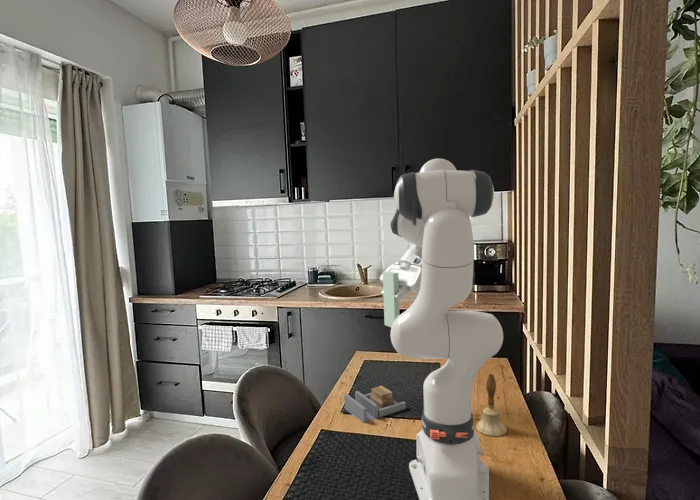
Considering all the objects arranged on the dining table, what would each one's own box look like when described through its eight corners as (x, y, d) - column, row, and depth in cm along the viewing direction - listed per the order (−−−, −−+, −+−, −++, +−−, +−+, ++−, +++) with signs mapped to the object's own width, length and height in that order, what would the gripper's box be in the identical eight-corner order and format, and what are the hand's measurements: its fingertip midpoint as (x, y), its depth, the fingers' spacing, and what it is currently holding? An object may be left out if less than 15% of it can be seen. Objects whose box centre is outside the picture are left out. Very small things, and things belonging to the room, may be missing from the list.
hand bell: (479, 419, 121) (479, 367, 120) (509, 425, 117) (508, 372, 115) (472, 432, 114) (472, 377, 113) (503, 439, 110) (503, 382, 108)
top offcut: (381, 392, 133) (381, 385, 133) (392, 399, 128) (392, 392, 128) (371, 395, 131) (371, 388, 131) (381, 403, 126) (381, 395, 126)
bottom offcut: (382, 399, 134) (382, 392, 134) (394, 407, 128) (394, 399, 128) (369, 403, 132) (369, 395, 132) (381, 411, 126) (381, 404, 126)
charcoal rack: (384, 397, 138) (384, 383, 137) (406, 411, 127) (405, 396, 127) (343, 409, 130) (342, 395, 130) (362, 426, 120) (361, 409, 119)
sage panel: (389, 323, 136) (387, 271, 135) (400, 327, 131) (398, 272, 129) (384, 324, 135) (382, 271, 134) (394, 328, 130) (393, 273, 128)
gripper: (389, 256, 144) (367, 286, 140) (426, 261, 126) (402, 296, 122) (399, 267, 146) (378, 297, 142) (438, 273, 128) (414, 308, 124)
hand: (389, 297), depth 132 cm, fingers closed on sage panel, 6 cm apart
